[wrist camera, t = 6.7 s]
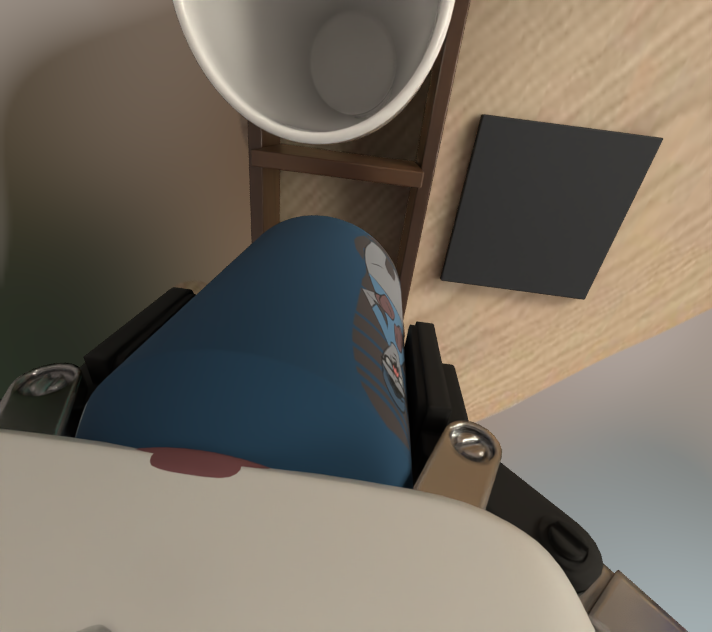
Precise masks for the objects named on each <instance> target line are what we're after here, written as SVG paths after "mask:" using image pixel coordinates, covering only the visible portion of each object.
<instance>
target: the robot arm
mask: <svg viewBox="0 0 712 632" xmlns="http://www.w3.org/2000/svg"><path fill="white" fill-rule="evenodd" d="M195 296H196V294H194V293H193V291H192V290H190V289H183V288H176V287H173V288H171V289H170V290H168V291H167V292H166V293H165V294H163V295H162V296H161V297H159V298H158V299H157V300H156V301H155V302H153V303H152V304H151V305H149V306H148V307H147V308H146V309H144V310H143V311H142V312H140V313H139V314H138V315H136V316H135V317H134V318H133V319H131V320H130V321H129V322H128V323H126V324H125V325H124V326H122V327H121V328H120V329H119V330H117V331H116V332H115V333H114V334H112V335H111V336H110V337H109V338H107V339H106V340H105V341H103V342H102V343H101V344H99V345H98V346H97V347H96V348H95V349H93V350H92V351H90V352H89V353H88V354H87V355H85V356H84V360H85V362H86V363H85V364H83V365H82V366H81V367H78V366H76V365H74V364H69V363H54V364H49V365H44V366H41V367H38V368H35V369H32V370H30V371H28V372H26V373H24V374H23V375H21V376H20V377H18V378H17V379H16V380H15V381H14V382H13V383H12V384H11V385H10V387H9V389H8V390H7V392H6V393H5V395H4V397H3V398H2V399H0V632H688V631H687V630H686V629H685V628H683V627H682V626H681V625H680V624H679V623H678V622H677V621H675V620H674V619H673V618H672V617H671V616H670V615H669V614H668V613H667V612H666V611H664V610H663V609H662V608H661V607H660V606H659V605H658V604H657V603H655V602H654V601H653V600H651V598H650V597H649V596H648V595H646V594H645V593H644V592H643V591H642V590H640V588H638V587H637V586H636V585H635V584H634V583H633V582H632V581H631V580H629V579H628V578H627V577H626V576H625V575H624V574H623V573H622V572H620V571H619V570H617V571H616V572H615V573H613V572H612V571H611V570H610V569H609V568H608V567H607V566H606V565H604V564H603V561H602V556H601V553H600V551H599V550H598V547H597V545H596V543H595V542H594V540H593V539H592V538H591V536H590V535H589V534H588V533H587V532H586V531H585V530H584V529H583V528H582V527H581V526H580V525H579V524H578V523H577V522H575V521H574V520H573V519H572V518H570V517H569V516H568V515H567V514H565V513H564V512H563V511H562V510H560V509H559V508H558V507H556V506H555V505H554V504H553V503H551V502H550V501H549V500H548V499H546V498H545V497H544V496H543V495H541V494H540V493H539V492H537V491H536V490H535V489H534V488H532V487H531V486H530V485H528V484H527V483H526V482H525V481H524V480H522V479H521V478H520V477H518V476H517V475H516V474H515V473H513V472H512V471H511V470H509V469H508V468H507V467H506V466H504V465H503V464H502V463H501V462H500V461H501V457H502V449H501V446H500V443H499V442H498V440H497V439H496V437H495V436H494V435H493V434H492V433H491V432H489V430H487V429H486V428H484V427H482V426H481V425H479V424H476V423H473V422H470V421H468V417H467V413H466V409H465V405H464V401H463V397H462V394H461V390H460V386H459V382H458V378H457V374H456V371H455V368H454V366H453V365H450V364H443V363H442V361H441V356H440V351H439V347H438V342H437V337H436V333H435V328H434V324H432V323H425V322H416V324H415V325H410V326H409V329H408V334H407V338H406V343H405V363H406V379H407V395H408V411H409V427H410V443H411V459H412V476H413V489H408V488H402V487H396V486H390V485H385V484H379V483H373V482H367V481H361V480H355V479H349V478H342V477H336V476H329V475H323V474H316V473H307V472H298V471H290V470H281V469H272V468H269V469H262V468H252V467H242V466H241V470H240V471H239V472H238V473H237V474H235V475H233V476H231V477H225V478H212V477H201V476H194V475H187V474H181V473H175V472H169V471H165V470H161V469H158V468H156V467H154V466H151V464H150V458H151V456H152V455H153V454H154V453H149V452H144V451H140V450H136V449H137V448H132V447H127V446H122V445H117V444H112V443H107V442H100V441H93V440H86V439H79V438H75V436H76V432H77V429H78V426H79V422H80V419H81V416H82V414H83V411H84V408H85V406H86V404H87V402H88V400H89V398H90V396H91V395H92V393H93V392H94V391H95V389H96V388H97V387H98V386H99V385H100V384H101V383H102V382H103V381H104V380H105V379H106V378H107V377H108V376H109V375H110V374H111V373H112V372H113V371H114V370H115V369H116V368H118V367H119V366H120V365H121V364H122V363H123V362H124V361H125V360H126V359H127V358H128V357H129V356H131V355H132V354H133V353H134V352H135V351H136V350H137V349H138V348H139V347H140V346H141V345H142V344H144V343H145V342H146V341H147V340H148V339H149V338H150V337H151V336H152V335H153V334H154V333H156V332H157V331H158V330H159V329H160V328H161V327H162V326H163V325H164V324H165V323H166V322H167V321H169V320H170V319H171V318H172V317H173V316H174V315H175V314H176V313H177V312H178V311H179V310H180V309H182V308H183V307H184V306H185V305H186V304H187V303H188V302H189V301H190V300H191V299H192V298H193V297H195Z"/></svg>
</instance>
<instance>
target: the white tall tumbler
mask: <svg viewBox="0 0 712 632" xmlns="http://www.w3.org/2000/svg"><path fill="white" fill-rule="evenodd" d="M172 1H173V5H174V8H175V12H176V15H177V17H178V21H179V23H180V26H181V29H182V32H183V34H184V36H185V39H186V41H187V43H188V45H189V48H190V49H191V51H192V53H193V55H194V57H195V59H196V61H197V63H198V64H199V66H200V67H201V69H202V71H203V72H204V74H205V75H206V77H207V78H208V80H209V81H210V82H211V84H212V85H213V86H214V88H215V89H216V90H217V91H218V92H219V94H220V95H221V96H222V97H223V98H224V99H225V100H226V101H227V102H228V103H229V104H230V105H231V106H232V107H233V108H234V109H235V110H236V111H237V112H238V113H240V114H241V115H242V116H243V117H244V118H246V119H247V120H249V121H250V122H252V123H253V124H254V125H256V126H258V127H259V128H261V129H263V130H265V131H267V132H268V133H271V134H273V135H275V136H278V137H280V138H284V139H287V140H290V141H294V142H299V143H305V144H338V143H345V142H349V141H354V140H357V139H360V138H363V137H365V136H368V135H370V134H372V133H374V132H376V131H377V130H379V129H380V128H382V127H384V126H385V125H386V124H388V123H389V122H390V121H392V120H393V119H394V118H395V117H396V116H397V115H398V114H399V113H400V112H402V111H403V109H404V108H405V107H406V106H407V105H408V104H409V103H410V101H411V100H412V99H413V97H414V96H415V95H416V93H417V92H418V91H419V89H420V87H421V86H422V84H423V82H424V81H425V79H426V78H427V76H428V74H429V72H430V70H431V68H432V66H433V64H434V62H435V60H436V58H437V56H438V54H439V51H440V49H441V46H442V44H443V42H444V39H445V36H446V33H447V30H448V27H449V24H450V20H451V16H452V12H453V8H454V4H455V0H172Z"/></svg>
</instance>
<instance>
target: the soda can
mask: <svg viewBox="0 0 712 632" xmlns="http://www.w3.org/2000/svg"><path fill="white" fill-rule="evenodd" d="M75 438H79V439H86V440H93V441H100V442H107V443H112V444H117V445H122V446H127V447H132V448H137V449H136V450H140V451H144V452H149V453H154V454H153V455H152V456H151V458H150V464H151V466H154V467H156V468H158V469H161V470H165V471H169V472H175V473H181V474H187V475H194V476H201V477H212V478H225V477H231V476H233V475H235V474H237V473H238V472H239V471H240V470H241V466H242V467H252V468H262V469H269V468H272V469H281V470H290V471H298V472H307V473H316V474H323V475H329V476H336V477H342V478H349V479H355V480H361V481H367V482H373V483H379V484H385V485H390V486H396V487H402V488H408V489H413V476H412V459H411V443H410V427H409V411H408V395H407V379H406V363H405V347H404V331H403V315H402V299H401V286H400V281H399V277H398V273H397V271H396V268H395V266H394V264H393V262H392V260H391V258H390V257H389V255H388V253H387V252H386V251H385V249H384V248H383V247H382V246H381V245H380V244H379V243H378V242H377V241H376V240H375V239H374V238H373V237H372V236H371V235H369V234H368V233H367V232H365V231H364V230H362V229H361V228H359V227H357V226H355V225H353V224H351V223H349V222H346V221H344V220H341V219H337V218H333V217H328V216H318V215H309V216H300V217H295V218H291V219H288V220H285V221H283V222H280V223H278V224H276V225H274V226H273V227H271V228H270V229H268V230H267V231H265V232H264V233H263V234H262V235H261V236H260V237H259V238H257V239H256V240H255V241H254V242H253V243H252V244H251V245H250V246H249V247H248V248H247V249H246V250H245V251H244V252H242V253H241V254H240V255H239V256H238V257H237V258H236V259H235V260H234V261H232V263H230V264H229V265H228V266H227V267H226V268H225V269H224V270H223V271H222V272H221V273H220V274H218V275H217V276H216V277H215V278H214V279H213V280H212V281H211V282H210V283H209V284H208V285H206V286H205V287H204V288H203V289H202V290H201V291H200V292H199V293H198V294H197V295H196V296H195V297H193V298H192V299H191V300H190V301H189V302H188V303H187V304H186V305H185V306H184V307H183V308H182V309H180V310H179V311H178V312H177V313H176V314H175V315H174V316H173V317H172V318H171V319H170V320H169V321H167V322H166V323H165V324H164V325H163V326H162V327H161V328H160V329H159V330H158V331H157V332H156V333H154V334H153V335H152V336H151V337H150V338H149V339H148V340H147V341H146V342H145V343H144V344H142V345H141V346H140V347H139V348H138V349H137V350H136V351H135V352H134V353H133V354H132V355H131V356H129V357H128V358H127V359H126V360H125V361H124V362H123V363H122V364H121V365H120V366H119V367H118V368H116V369H115V370H114V371H113V372H112V373H111V374H110V375H109V376H108V377H107V378H106V379H105V380H104V381H103V382H102V383H101V384H100V385H99V386H98V387H97V388H96V389H95V391H94V392H93V393H92V395H91V396H90V398H89V400H88V402H87V404H86V406H85V408H84V411H83V414H82V416H81V419H80V422H79V426H78V429H77V432H76V436H75Z"/></svg>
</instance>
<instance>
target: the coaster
mask: <svg viewBox="0 0 712 632" xmlns="http://www.w3.org/2000/svg"><path fill="white" fill-rule="evenodd" d="M662 140H663V138H659V137H651V136H644V135H636V134H629V133H621V132H613V131H606V130H598V129H591V128H583V127H575V126H568V125H560V124H553V123H545V122H538V121H530V120H522V119H515V118H507V117H500V116H492V115H485V114H483V115H481V119H480V123H479V126H478V130H477V134H476V138H475V142H474V146H473V150H472V154H471V158H470V162H469V166H468V170H467V174H466V178H465V182H464V186H463V190H462V194H461V198H460V202H459V206H458V209H457V213H456V217H455V221H454V225H453V229H452V233H451V237H450V241H449V245H448V249H447V253H446V257H445V261H444V265H443V269H442V273H441V277H440V279H441V280H442V281H449V282H457V283H464V284H472V285H479V286H487V287H494V288H502V289H509V290H516V291H524V292H531V293H539V294H546V295H554V296H561V297H569V298H576V299H585V298H586V296H587V294H588V291H589V289H590V287H591V285H592V283H593V281H594V279H595V277H596V275H597V273H598V271H599V269H600V267H601V265H602V263H603V261H604V259H605V257H606V255H607V253H608V251H609V249H610V247H611V244H612V242H613V240H614V238H615V236H616V234H617V232H618V230H619V228H620V226H621V224H622V222H623V220H624V218H625V216H626V214H627V212H628V210H629V208H630V206H631V204H632V202H633V200H634V198H635V195H636V193H637V191H638V189H639V187H640V185H641V183H642V181H643V179H644V177H645V175H646V173H647V171H648V169H649V167H650V165H651V163H652V161H653V159H654V157H655V155H656V153H657V151H658V149H659V146H660V144H661V142H662Z"/></svg>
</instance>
